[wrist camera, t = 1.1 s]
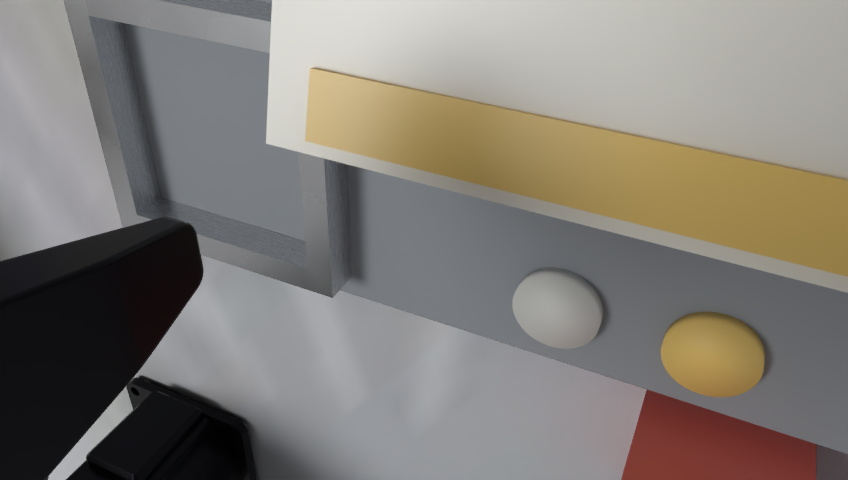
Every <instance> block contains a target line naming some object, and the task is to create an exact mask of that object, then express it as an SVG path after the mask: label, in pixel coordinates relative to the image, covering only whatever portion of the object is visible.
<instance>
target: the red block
mask: <svg viewBox="0 0 848 480" xmlns="http://www.w3.org/2000/svg"><path fill="white" fill-rule="evenodd" d="M816 450H817V444H814V443H811V442H808V441H805V440H802V439H799V438H796V437H793V436H790V435H787V434H783V433H780V432H777V431H774V430H771V429H768V428H765V427H762V426H759V425H756V424H753V423H749V422H746V421H743V420H740V419H737V418H734V417H731V416H728V415H725V414H722V413H719V412H715V411H712V410H709V409H706V408H703V407H700V406H697V405H694V404H691V403H688V402H684V401H681V400H678V399H675V398H672V397H669V396H666V395H663V394H660V393H657V392H654V391H650V390H647V391H646V394H645V398H644V401H643V405H642V408H641V412H640V415H639V419H638V422H637V426H636V429H635V433H634V436H633V440H632V444H631V447H630V451H629V454H628V458H627V461H626V465H625V468H624V472H623V475H622V479H621V480H816Z"/></svg>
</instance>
